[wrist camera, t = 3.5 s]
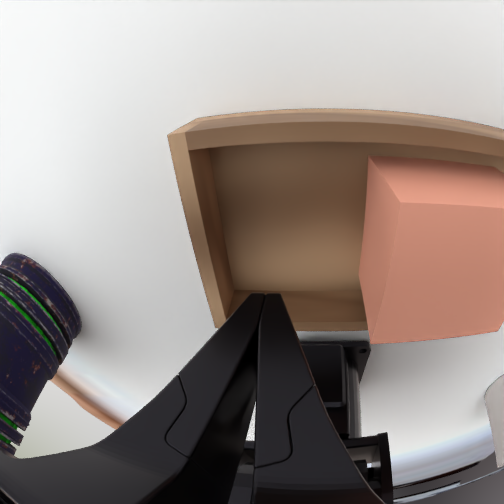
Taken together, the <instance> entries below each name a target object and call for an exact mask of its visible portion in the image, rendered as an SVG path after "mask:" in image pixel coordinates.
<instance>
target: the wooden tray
mask: <svg viewBox="0 0 504 504" xmlns="http://www.w3.org/2000/svg"><path fill="white" fill-rule="evenodd" d="M167 136H168V141H169V146H170V151H171V156H172V160H173V165H174V170H175V174H176V179H177V183H178V188H179V192H180V196H181V201H182V205H183V209H184V213H185V217H186V221H187V226H188V230H189V234H190V238H191V241H192V245H193V249H194V253H195V257H196V261H197V264H198V268H199V272H200V275H201V279H202V283H203V286H204V290H205V293H206V297H207V300H208V304H209V307H210V311H211V314H212V318H213V321H214V324H215V328H220V327H221V326H222V325H223V324H224V323H225V321H226V320H227V319H228V318H229V317H230V316H231V315H232V314H233V312H234V311H235V310H236V309H237V308H238V307H239V306H240V305H241V303H242V302H243V301H244V300H245V299H246V298H247V297H248V296H249V294H250V293H252V292H263V293H265V294H267V293H281V295H282V297H283V300H284V302H285V305H286V308H287V310H288V313H289V315H290V318H291V321H292V323H293V326H294V328H295V331H362V330H368V324H367V318H366V312H365V306H364V301H363V295H362V290H361V285H360V280H359V275H358V273H359V266H360V258H361V250H362V241H363V231H364V220H365V208H366V194H367V177H368V155H369V156H392V157H409V158H422V159H434V160H444V161H453V162H462V163H469V164H477V165H484V166H490V167H495V168H497V169H498V170H499V171H501V172H502V173H503V174H504V129H500V128H495V127H491V126H487V125H482V124H477V123H473V122H467V121H462V120H456V119H450V118H444V117H438V116H430V115H423V114H414V113H405V112H394V111H380V110H362V109H289V110H270V111H256V112H245V113H235V114H226V115H218V116H210V117H203V118H197V119H195V120H193V121H191V122H189V123H188V124H186V125H184V126H182V127H180V128H179V129H177V130H175V131H173V132H172V133H170V134H168V135H167Z"/></svg>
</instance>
